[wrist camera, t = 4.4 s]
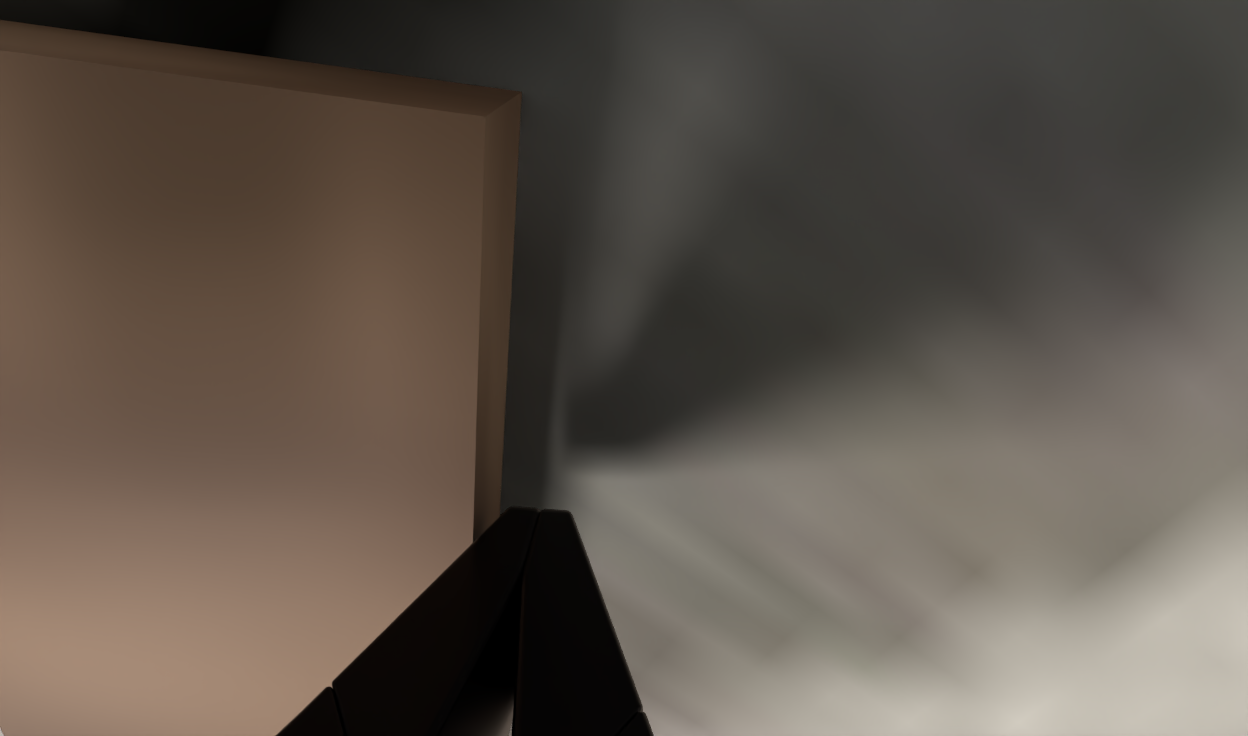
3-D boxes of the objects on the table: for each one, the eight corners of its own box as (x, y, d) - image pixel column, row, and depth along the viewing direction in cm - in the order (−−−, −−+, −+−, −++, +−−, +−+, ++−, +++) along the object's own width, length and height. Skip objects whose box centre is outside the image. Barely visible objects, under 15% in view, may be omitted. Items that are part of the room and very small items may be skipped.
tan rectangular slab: (498, 658, 13) (465, 793, 11) (118, 612, 13) (6, 740, 11) (530, 84, 8) (486, 116, 6) (-68, 2, 8) (-335, 5, 6)
